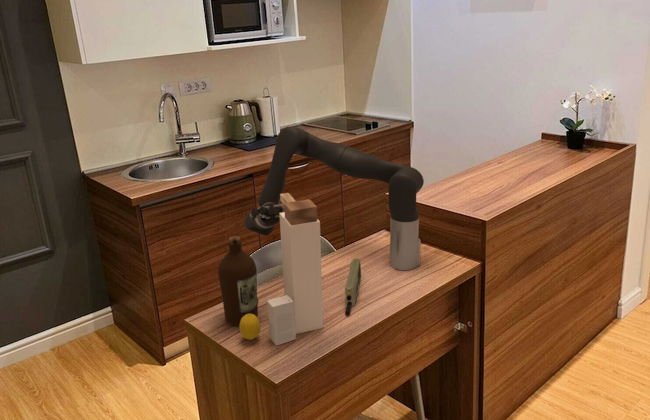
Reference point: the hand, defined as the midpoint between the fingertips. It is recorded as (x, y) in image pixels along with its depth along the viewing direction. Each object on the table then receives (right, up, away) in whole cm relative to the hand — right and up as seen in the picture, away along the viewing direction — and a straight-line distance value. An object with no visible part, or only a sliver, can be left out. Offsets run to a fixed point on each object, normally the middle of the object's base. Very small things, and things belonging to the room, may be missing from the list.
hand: (278, 206), depth 173 cm
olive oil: (-10, -32, -6) cm, 34 cm away
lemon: (-6, -36, -17) cm, 40 cm away
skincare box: (+3, -36, -17) cm, 40 cm away
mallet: (+6, -1, -17) cm, 18 cm away
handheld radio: (+22, -27, +4) cm, 36 cm away
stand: (+8, -33, -9) cm, 35 cm away
